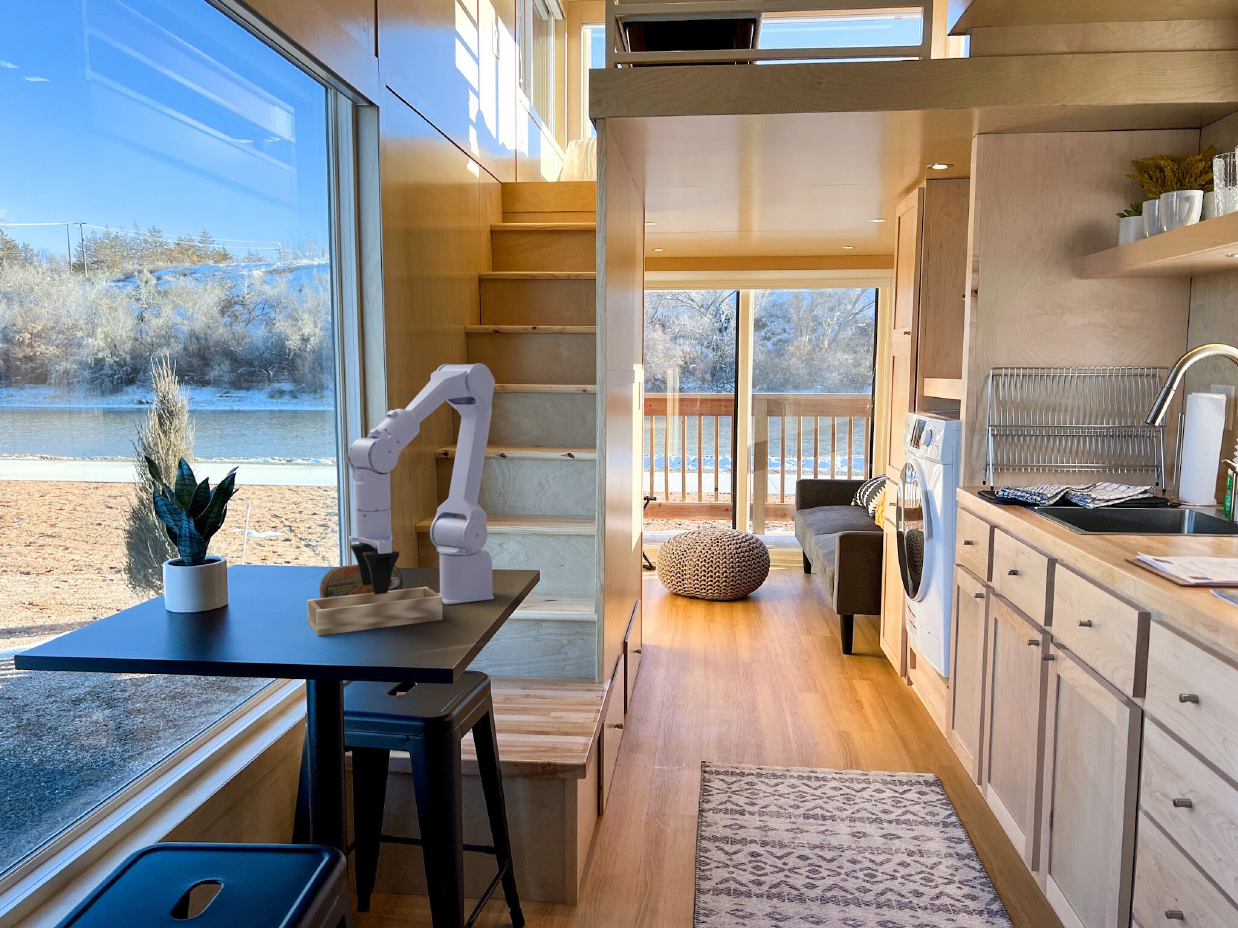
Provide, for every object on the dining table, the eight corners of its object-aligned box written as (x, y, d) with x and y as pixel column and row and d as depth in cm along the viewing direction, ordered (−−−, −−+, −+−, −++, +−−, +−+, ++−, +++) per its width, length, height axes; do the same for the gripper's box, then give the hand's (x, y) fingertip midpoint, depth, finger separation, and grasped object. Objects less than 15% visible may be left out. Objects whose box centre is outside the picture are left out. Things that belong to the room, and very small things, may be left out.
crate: (427, 608, 161) (426, 586, 160) (442, 619, 153) (442, 596, 153) (307, 623, 151) (307, 599, 150) (317, 635, 143) (317, 611, 143)
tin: (325, 617, 154) (324, 569, 154) (317, 614, 157) (316, 567, 156) (404, 603, 164) (403, 558, 164) (395, 600, 167) (395, 556, 166)
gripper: (339, 505, 155) (341, 582, 156) (359, 516, 142) (361, 600, 143) (380, 503, 158) (381, 578, 159) (403, 513, 145) (404, 595, 147)
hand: (375, 588), depth 151 cm, fingers open, 7 cm apart
